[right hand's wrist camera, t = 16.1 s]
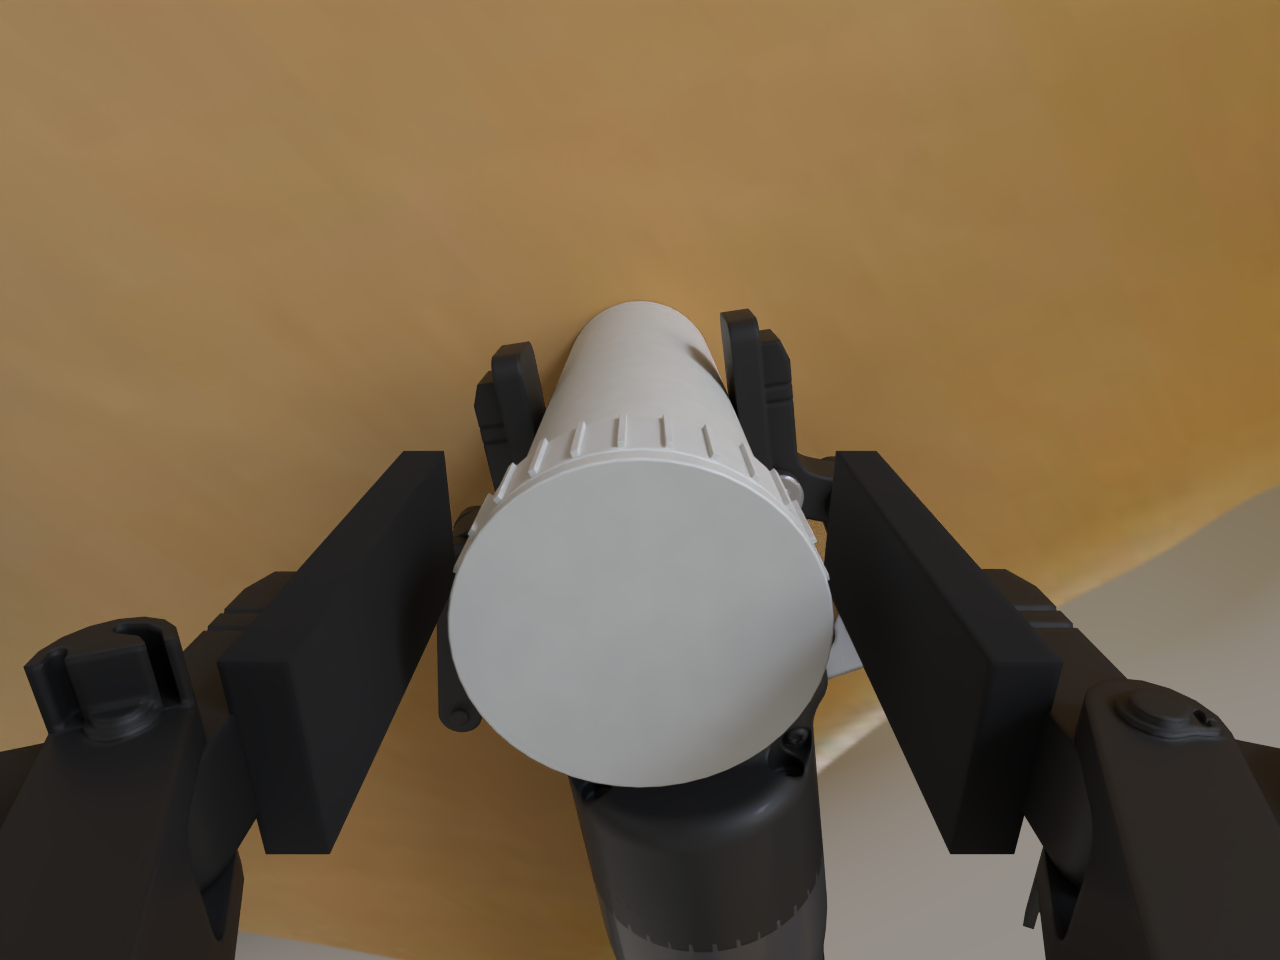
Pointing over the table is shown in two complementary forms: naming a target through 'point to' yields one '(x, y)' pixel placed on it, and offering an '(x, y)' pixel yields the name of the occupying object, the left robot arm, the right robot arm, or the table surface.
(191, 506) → the table surface
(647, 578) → the lid
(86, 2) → the table surface
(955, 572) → the right robot arm
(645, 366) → the jar
